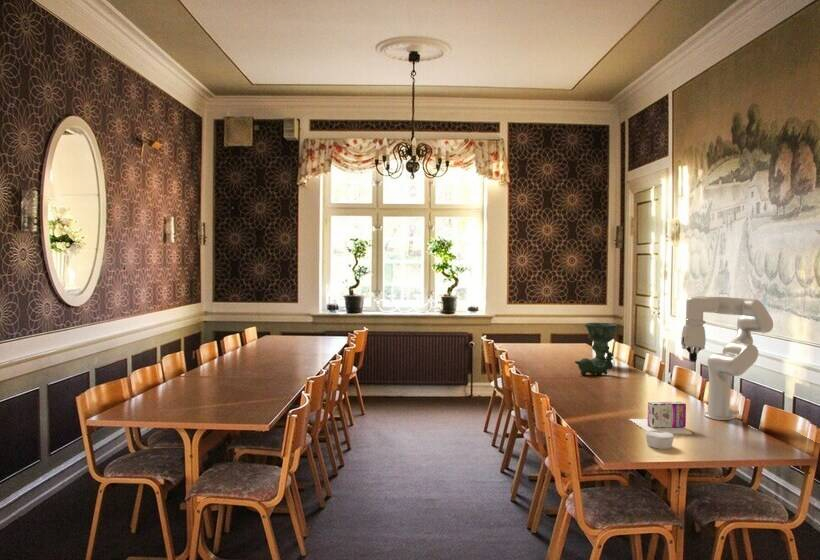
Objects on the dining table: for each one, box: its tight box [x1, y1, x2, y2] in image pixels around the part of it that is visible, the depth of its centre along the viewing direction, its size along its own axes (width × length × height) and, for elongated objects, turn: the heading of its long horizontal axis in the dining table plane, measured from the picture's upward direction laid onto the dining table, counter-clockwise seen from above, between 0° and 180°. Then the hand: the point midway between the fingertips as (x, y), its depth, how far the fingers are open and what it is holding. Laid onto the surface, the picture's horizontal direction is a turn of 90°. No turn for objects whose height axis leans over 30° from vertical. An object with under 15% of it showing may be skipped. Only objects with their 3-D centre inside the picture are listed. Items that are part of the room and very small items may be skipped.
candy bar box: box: [647, 401, 687, 428], centre depth 294 cm, size 11×5×16 cm
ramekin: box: [645, 430, 675, 450], centre depth 266 cm, size 11×11×5 cm
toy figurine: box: [574, 349, 614, 377], centre depth 422 cm, size 9×19×25 cm
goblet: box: [584, 322, 619, 368], centre depth 457 cm, size 22×23×30 cm
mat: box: [628, 418, 693, 435], centre depth 296 cm, size 19×24×1 cm
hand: (692, 361), depth 306 cm, fingers closed
